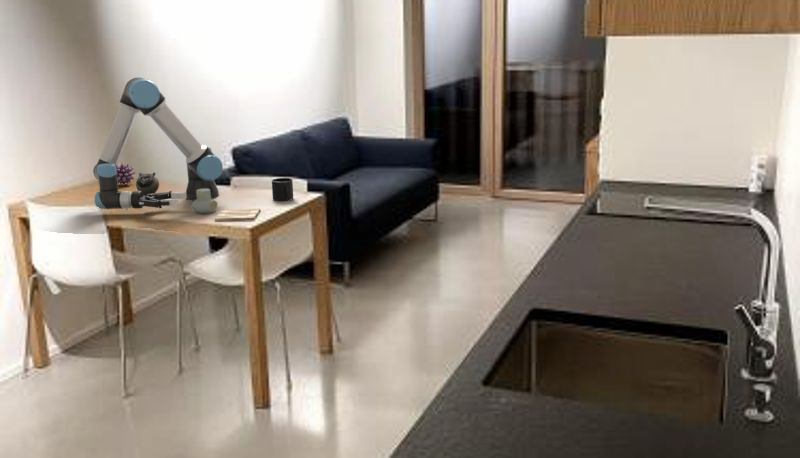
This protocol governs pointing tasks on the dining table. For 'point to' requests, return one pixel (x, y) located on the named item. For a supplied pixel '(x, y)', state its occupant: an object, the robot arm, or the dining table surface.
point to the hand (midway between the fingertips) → (182, 199)
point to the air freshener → (204, 202)
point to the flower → (124, 173)
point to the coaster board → (237, 214)
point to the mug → (282, 189)
